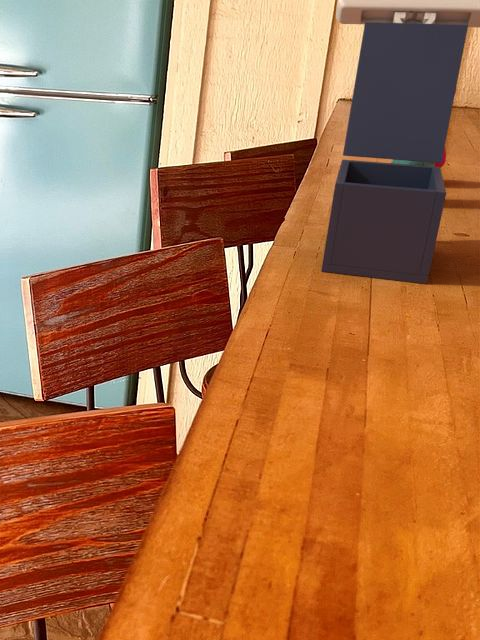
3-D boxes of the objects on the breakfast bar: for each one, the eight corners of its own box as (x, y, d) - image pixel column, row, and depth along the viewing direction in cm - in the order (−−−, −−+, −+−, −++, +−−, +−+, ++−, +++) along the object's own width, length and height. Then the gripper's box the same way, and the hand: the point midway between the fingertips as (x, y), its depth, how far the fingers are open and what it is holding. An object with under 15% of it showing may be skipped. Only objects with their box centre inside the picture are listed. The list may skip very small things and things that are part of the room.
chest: (426, 284, 105) (446, 192, 101) (321, 271, 109) (335, 183, 105) (423, 249, 119) (440, 166, 114) (329, 239, 123) (342, 159, 118)
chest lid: (468, 24, 110) (467, 25, 110) (365, 21, 114) (365, 22, 115) (441, 163, 114) (440, 163, 115) (342, 155, 118) (342, 155, 119)
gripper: (501, -17, 121) (492, 65, 116) (343, -19, 128) (328, 58, 123) (513, -54, 115) (503, 30, 111) (347, -54, 122) (331, 25, 118)
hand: (410, 45), depth 117 cm, fingers closed
